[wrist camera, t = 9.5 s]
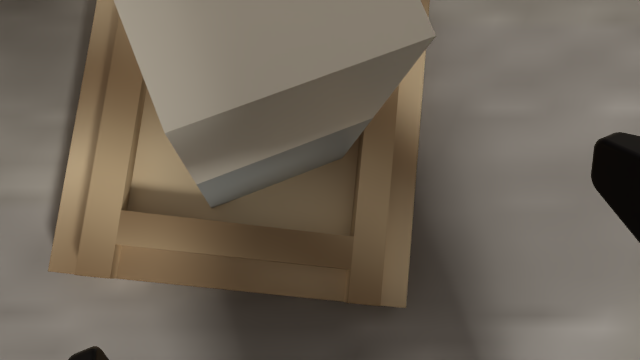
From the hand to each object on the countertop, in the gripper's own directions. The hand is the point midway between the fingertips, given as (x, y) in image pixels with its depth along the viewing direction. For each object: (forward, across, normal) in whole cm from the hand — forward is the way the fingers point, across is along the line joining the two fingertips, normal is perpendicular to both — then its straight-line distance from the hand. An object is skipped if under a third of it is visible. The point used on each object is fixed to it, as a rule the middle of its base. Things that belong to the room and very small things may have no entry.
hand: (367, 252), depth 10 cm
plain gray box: (+10, 0, +3) cm, 10 cm away
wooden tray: (+11, 0, +4) cm, 11 cm away
